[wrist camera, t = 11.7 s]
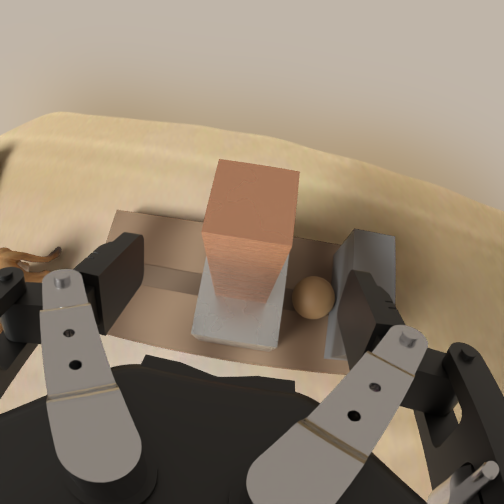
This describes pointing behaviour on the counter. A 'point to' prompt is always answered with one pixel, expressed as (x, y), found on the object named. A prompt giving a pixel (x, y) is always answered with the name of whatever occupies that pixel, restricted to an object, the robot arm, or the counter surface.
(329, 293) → the hazelnut
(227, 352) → the press base
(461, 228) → the counter surface
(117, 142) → the counter surface
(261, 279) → the block
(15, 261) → the lion figurine
